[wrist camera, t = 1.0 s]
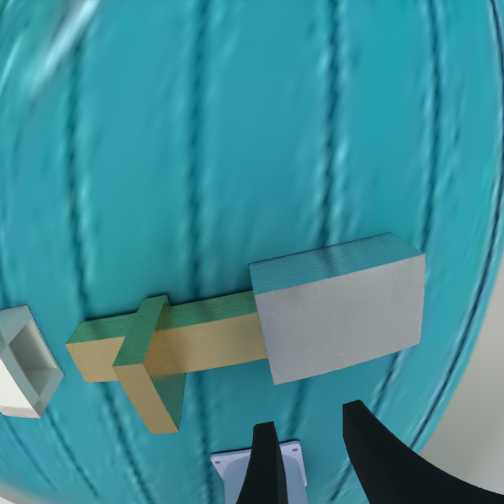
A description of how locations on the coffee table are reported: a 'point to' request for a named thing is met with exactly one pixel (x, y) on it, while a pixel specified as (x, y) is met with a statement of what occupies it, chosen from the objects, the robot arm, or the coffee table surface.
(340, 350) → the sleeve
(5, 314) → the socket
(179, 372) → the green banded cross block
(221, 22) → the coffee table surface
